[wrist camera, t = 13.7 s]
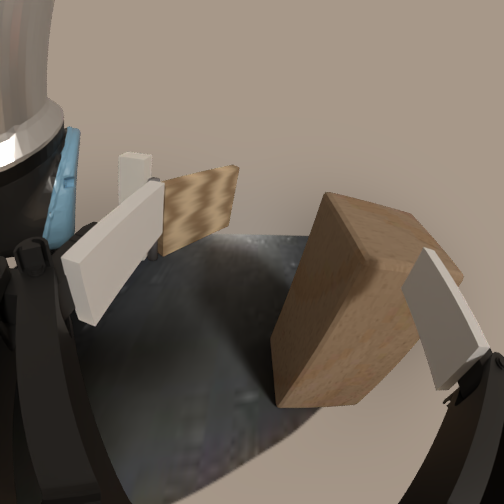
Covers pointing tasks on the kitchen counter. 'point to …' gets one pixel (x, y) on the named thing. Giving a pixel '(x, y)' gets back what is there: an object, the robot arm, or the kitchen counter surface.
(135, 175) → the wall stub
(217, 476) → the kitchen counter surface
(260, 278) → the kitchen counter surface
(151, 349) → the kitchen counter surface
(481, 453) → the robot arm
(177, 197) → the gate
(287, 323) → the wooden block
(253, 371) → the kitchen counter surface
